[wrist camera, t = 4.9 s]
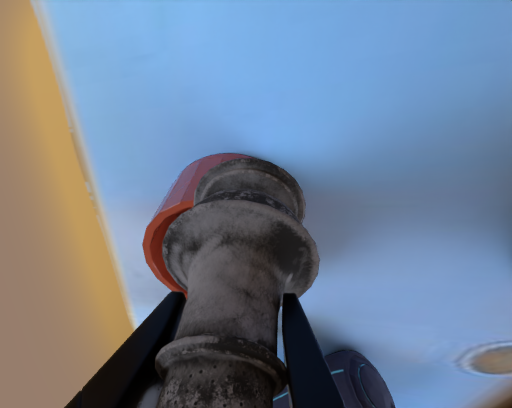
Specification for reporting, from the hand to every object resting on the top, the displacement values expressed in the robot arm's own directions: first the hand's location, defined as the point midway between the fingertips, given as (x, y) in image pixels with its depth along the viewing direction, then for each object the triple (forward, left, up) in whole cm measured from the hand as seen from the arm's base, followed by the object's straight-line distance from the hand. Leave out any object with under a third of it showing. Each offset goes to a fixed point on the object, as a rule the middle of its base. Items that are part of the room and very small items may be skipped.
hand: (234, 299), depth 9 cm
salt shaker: (0, 0, -5) cm, 5 cm away
